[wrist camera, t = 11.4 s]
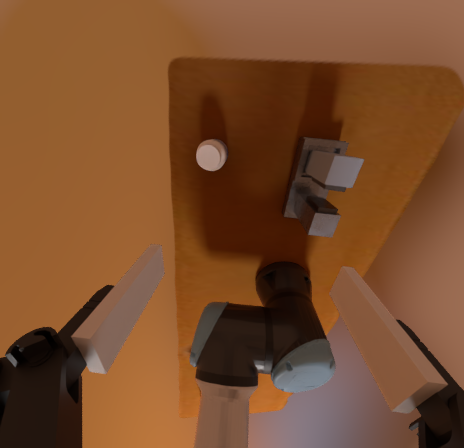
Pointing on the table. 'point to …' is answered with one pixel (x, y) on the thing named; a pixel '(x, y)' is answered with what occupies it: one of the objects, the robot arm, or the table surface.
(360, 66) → the table surface
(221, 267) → the table surface
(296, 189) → the grey block fixture
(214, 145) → the pill bottle
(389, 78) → the table surface
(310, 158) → the long gray rectangular block
